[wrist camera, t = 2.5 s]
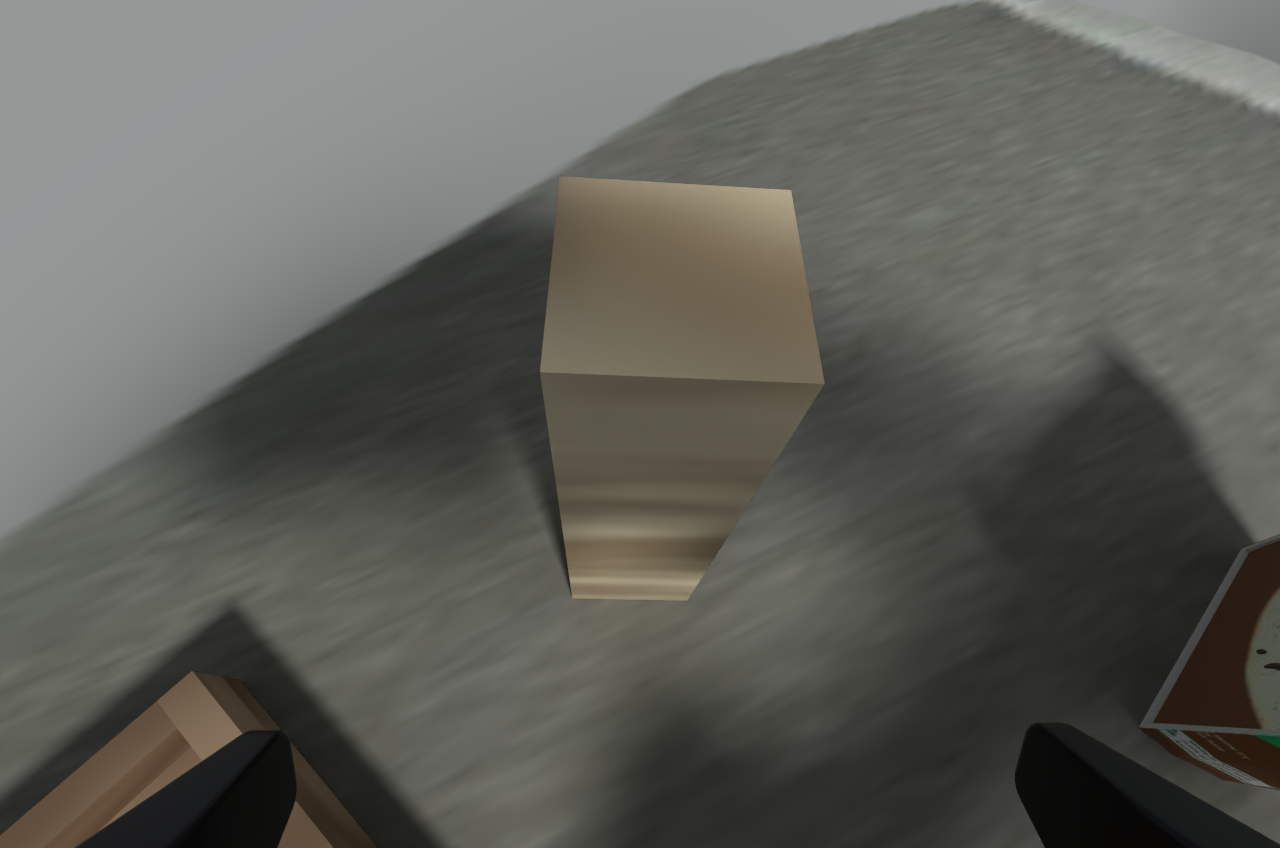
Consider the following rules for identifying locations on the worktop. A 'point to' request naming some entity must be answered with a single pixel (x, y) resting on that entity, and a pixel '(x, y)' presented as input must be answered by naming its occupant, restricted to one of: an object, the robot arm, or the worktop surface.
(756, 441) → the birch peg
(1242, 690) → the food container
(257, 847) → the robot arm
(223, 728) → the walnut rack
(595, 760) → the worktop surface
